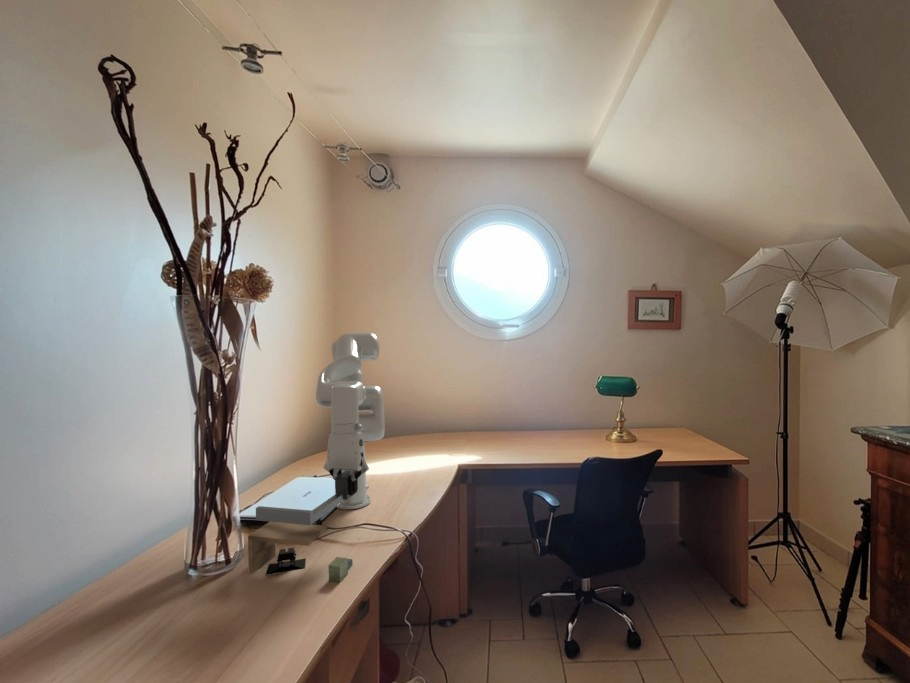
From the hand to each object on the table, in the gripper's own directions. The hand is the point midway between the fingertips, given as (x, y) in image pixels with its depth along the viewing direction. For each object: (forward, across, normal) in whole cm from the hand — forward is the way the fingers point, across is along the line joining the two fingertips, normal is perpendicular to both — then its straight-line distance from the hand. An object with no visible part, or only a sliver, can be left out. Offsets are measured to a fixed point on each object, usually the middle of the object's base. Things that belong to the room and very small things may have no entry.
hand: (346, 492), depth 120 cm
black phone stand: (+16, +11, +12) cm, 23 cm away
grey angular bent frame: (+1, +6, +8) cm, 10 cm away
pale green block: (+16, -5, +12) cm, 21 cm away
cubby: (+16, +9, +13) cm, 22 cm away
